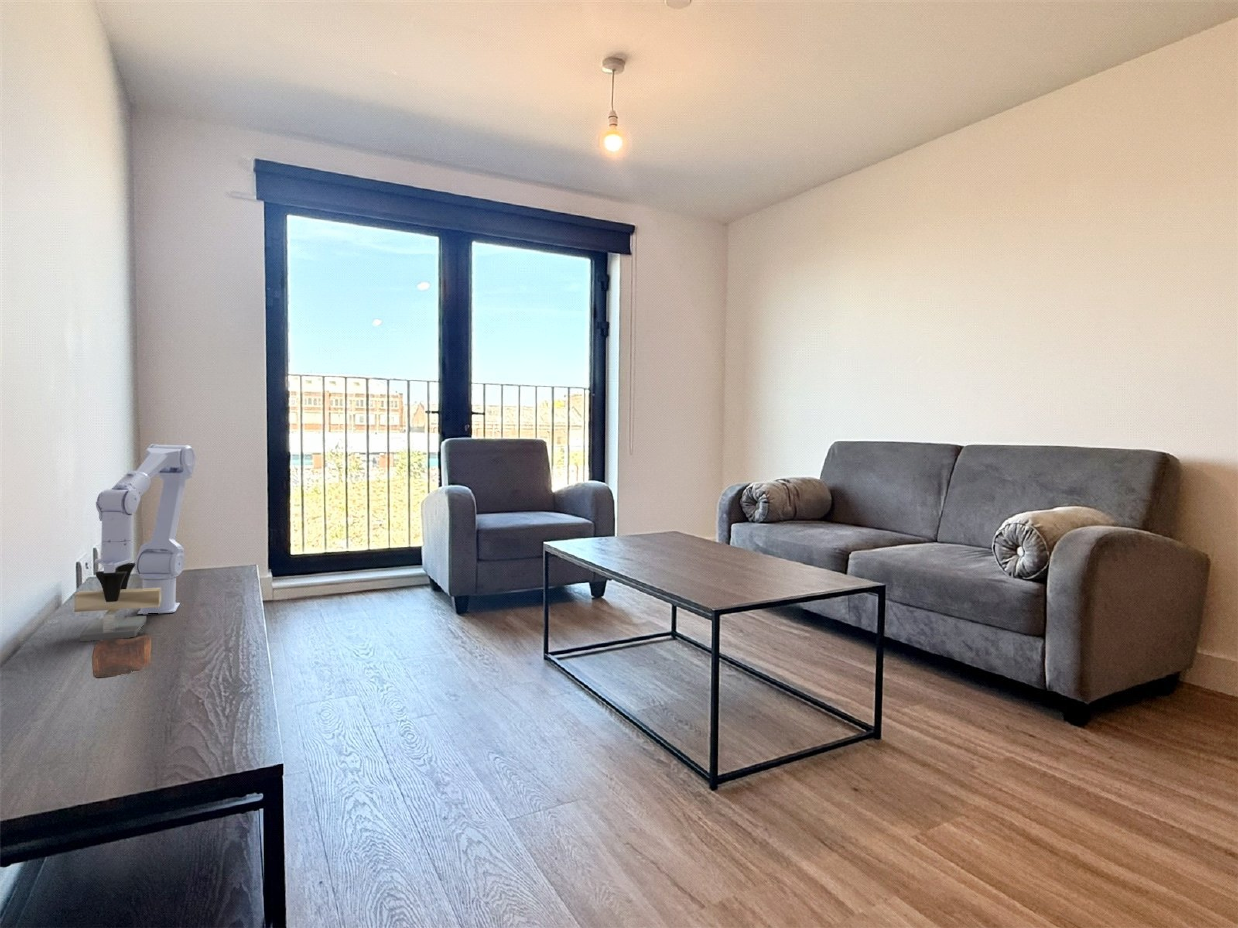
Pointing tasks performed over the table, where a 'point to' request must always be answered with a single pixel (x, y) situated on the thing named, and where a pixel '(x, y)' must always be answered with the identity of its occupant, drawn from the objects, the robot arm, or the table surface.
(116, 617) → the steel ridge
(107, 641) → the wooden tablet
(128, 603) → the maple bar
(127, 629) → the grey slab
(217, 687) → the table surface
